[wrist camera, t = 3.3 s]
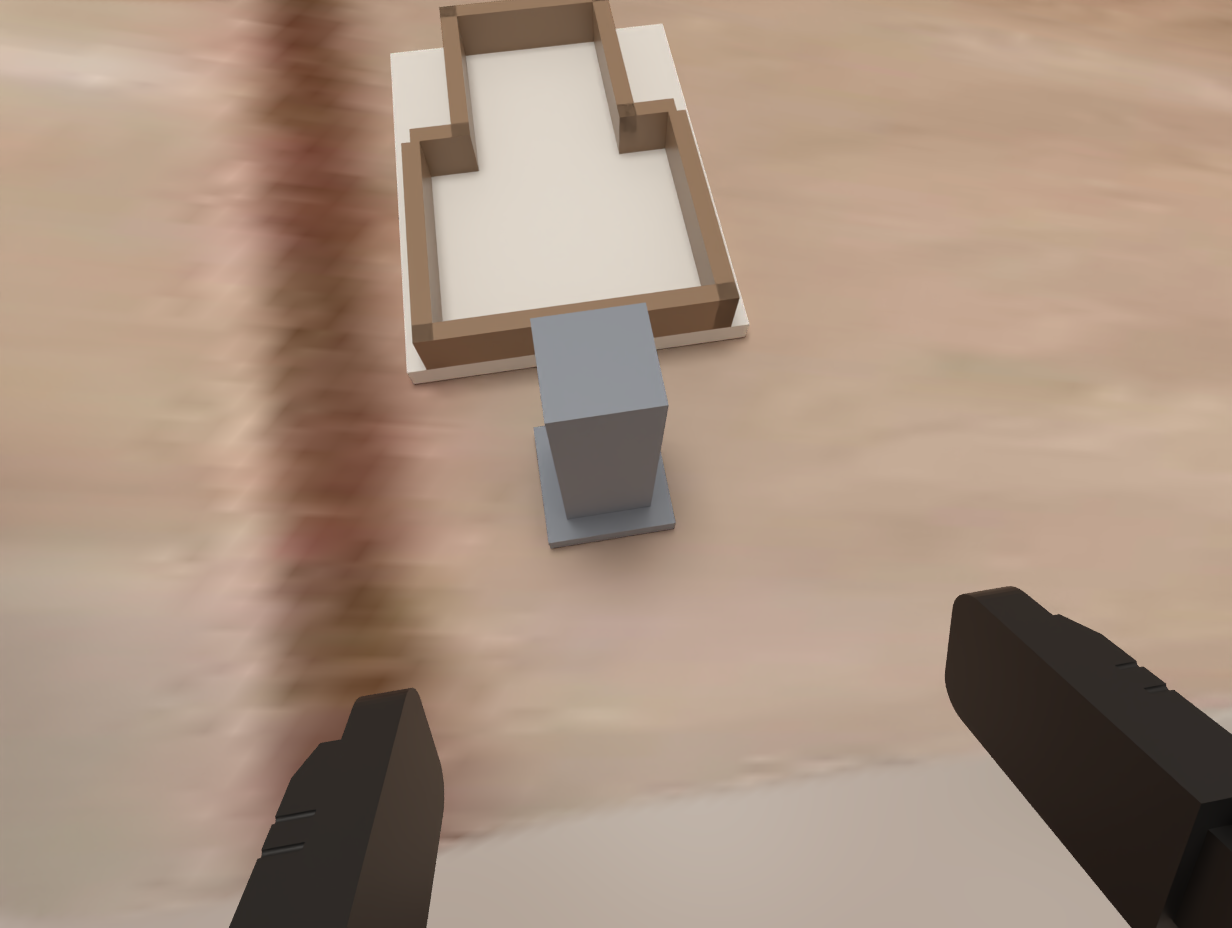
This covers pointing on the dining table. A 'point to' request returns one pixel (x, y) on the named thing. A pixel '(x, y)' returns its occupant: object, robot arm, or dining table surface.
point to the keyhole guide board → (549, 187)
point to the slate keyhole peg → (601, 425)
